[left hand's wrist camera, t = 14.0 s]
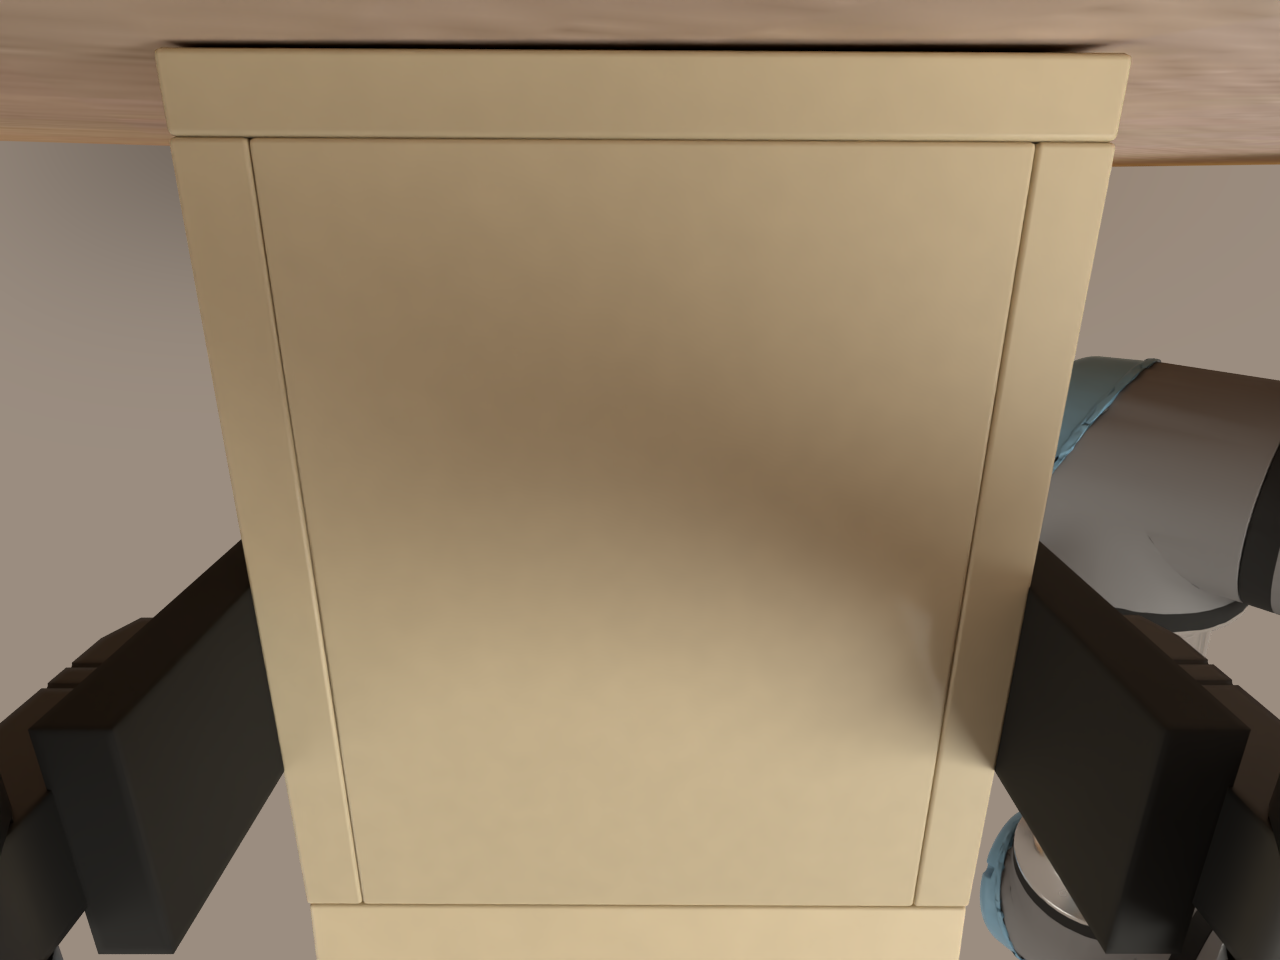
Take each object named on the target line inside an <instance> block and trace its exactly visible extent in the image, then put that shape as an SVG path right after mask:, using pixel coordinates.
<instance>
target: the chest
mask: <svg viewBox="0 0 1280 960" xmlns="http://www.w3.org/2000/svg"><path fill="white" fill-rule="evenodd" d="M154 56H155V62H156V67H157V73H158V78H159V84H160V89H161V95H162V100H163V106H164V111H165V117H166V122H167V128H168V130H169V132H170V134H171V135H174V136H176V137H174V138H172V139H170V148H171V153H172V159H173V164H174V169H175V175H176V181H177V186H178V192H179V197H180V203H181V208H182V214H183V219H184V225H185V230H186V236H187V241H188V247H189V252H190V258H191V263H192V269H193V274H194V280H195V285H196V291H197V297H198V302H199V308H200V313H201V318H202V324H203V330H204V335H205V340H206V346H207V351H208V357H209V363H210V368H211V374H212V379H213V385H214V390H215V396H216V401H217V406H218V412H219V417H220V423H221V429H222V434H223V440H224V445H225V451H226V456H227V462H228V467H229V473H230V478H231V484H232V489H233V495H234V500H235V506H236V511H237V517H238V522H239V528H240V533H241V539H242V544H243V550H244V555H245V561H246V566H247V572H248V577H249V583H250V588H251V593H252V599H253V604H254V610H255V615H256V620H257V626H258V631H259V636H260V642H261V647H262V653H263V658H264V663H265V669H266V674H267V679H268V685H269V690H270V695H271V701H272V706H273V712H274V717H275V722H276V728H277V733H278V738H279V744H280V749H281V755H282V760H283V765H284V775H285V781H286V786H287V792H288V798H289V803H290V808H291V814H292V819H293V825H294V831H295V836H296V842H297V847H298V852H299V858H300V864H301V869H302V875H303V880H304V886H305V891H306V897H307V901H308V902H309V903H349V904H358V903H361V902H362V900H363V901H364V903H367V904H587V905H810V906H910V905H912V904H913V902H914V904H915V905H916V906H967V905H968V904H969V899H970V894H971V889H972V884H973V879H974V874H975V868H976V863H977V858H978V853H979V848H980V843H981V838H982V832H983V827H984V822H985V817H986V812H987V807H988V801H989V796H990V791H991V786H992V781H993V776H994V770H995V765H996V760H997V755H998V750H999V744H1000V739H1001V734H1002V729H1003V723H1004V718H1005V713H1006V707H1007V702H1008V697H1009V692H1010V686H1011V681H1012V676H1013V670H1014V665H1015V660H1016V654H1017V649H1018V644H1019V639H1020V633H1021V628H1022V623H1023V617H1024V612H1025V607H1026V601H1027V596H1028V591H1029V587H1030V585H1031V580H1032V574H1033V569H1034V564H1035V559H1036V554H1037V549H1038V543H1039V538H1040V533H1041V528H1042V523H1043V518H1044V513H1045V507H1046V502H1047V497H1048V492H1049V487H1050V482H1051V476H1052V471H1053V466H1054V461H1055V456H1056V451H1057V445H1058V440H1059V435H1060V430H1061V425H1062V420H1063V414H1064V409H1065V404H1066V399H1067V394H1068V389H1069V384H1070V378H1071V373H1072V368H1073V363H1074V358H1075V353H1076V347H1077V342H1078V337H1079V332H1080V327H1081V322H1082V316H1083V311H1084V306H1085V301H1086V296H1087V291H1088V285H1089V280H1090V275H1091V270H1092V265H1093V260H1094V255H1095V249H1096V244H1097V239H1098V234H1099V229H1100V224H1101V218H1102V213H1103V208H1104V203H1105V198H1106V193H1107V187H1108V182H1109V177H1110V172H1111V167H1112V162H1113V157H1114V151H1115V145H1114V144H1112V143H1110V141H1112V140H1114V139H1115V137H1116V135H1117V133H1118V127H1119V122H1120V117H1121V112H1122V107H1123V102H1124V96H1125V91H1126V86H1127V81H1128V76H1129V71H1130V65H1131V56H1129V55H1127V54H1125V53H1011V52H843V51H676V50H508V49H340V48H173V47H161V48H159V49H157V50H155V54H154Z"/></svg>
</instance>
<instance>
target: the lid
mask: <svg viewBox="0 0 1280 960" xmlns="http://www.w3.org/2000/svg"><path fill="white" fill-rule="evenodd" d="M310 909H311V917H312V925H313V933H314V941H315V949H316V957H317V960H959V954H960V947H961V940H962V932H963V925H964V918H965V910H966V908H965V906H916V905H915V904H914V902H913V904H912V905H910V906H810V905H587V904H367V903H364V901H363V900H362V902H361V903H358V904H349V903H311V905H310Z"/></svg>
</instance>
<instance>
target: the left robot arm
mask: <svg viewBox="0 0 1280 960" xmlns="http://www.w3.org/2000/svg"><path fill="white" fill-rule="evenodd" d="M283 772H284V765H283V760H282V755H281V749H280V744H279V738H278V733H277V728H276V722H275V717H274V712H273V706H272V701H271V695H270V690H269V685H268V679H267V674H266V669H265V663H264V658H263V653H262V647H261V642H260V636H259V631H258V626H257V620H256V615H255V610H254V604H253V599H252V593H251V588H250V583H249V577H248V572H247V566H246V561H245V555H244V550H243V544H242V539H241V540H240V541H239V542H238V543H237V544H236V545H234V546H233V547H232V548H231V549H230V550H229V551H228V552H227V553H225V554H224V555H223V556H222V557H221V558H220V559H219V560H218V561H216V562H215V563H214V564H213V565H212V566H211V567H210V568H209V569H208V570H206V571H205V572H204V573H203V574H202V575H201V576H200V577H198V578H197V579H196V580H195V581H194V582H193V583H192V584H191V585H190V586H188V587H187V588H186V589H185V590H184V591H183V592H182V593H181V594H179V595H178V596H177V597H176V598H175V599H174V600H173V601H172V602H170V603H169V604H168V605H167V606H166V607H165V608H164V609H163V610H161V611H160V612H159V613H158V614H157V615H156V616H155V617H154V618H140V619H138V620H136V621H134V622H132V623H130V624H128V625H126V626H124V627H122V628H120V629H118V630H116V631H114V632H113V633H111V634H109V635H107V636H105V637H103V638H101V639H100V640H98V641H97V642H96V643H95V644H94V645H93V646H91V647H90V648H89V649H88V650H87V651H85V652H84V653H83V654H82V655H81V656H80V657H78V658H77V659H76V660H75V661H74V662H72V667H71V668H65V669H64V670H63V671H62V672H60V673H59V674H58V675H57V676H56V677H55V678H53V679H52V680H51V681H50V682H49V683H48V687H47V688H42V689H40V690H39V691H38V692H37V693H36V694H34V695H33V696H32V697H31V698H30V699H28V700H27V701H26V702H25V703H24V704H22V705H21V706H20V707H19V708H18V709H17V710H15V711H14V712H13V713H12V714H11V715H9V716H8V717H7V718H6V719H5V720H4V721H2V722H1V723H0V960H63V957H62V955H61V952H60V949H59V946H58V945H59V943H60V942H61V941H62V940H63V938H64V937H65V936H66V934H67V933H68V932H69V930H70V929H71V928H72V927H73V925H74V924H75V923H76V921H77V920H78V919H79V917H80V916H81V915H82V913H83V912H84V911H85V913H86V916H87V919H88V922H89V925H90V928H91V932H92V935H93V938H94V941H95V945H96V948H97V951H98V954H174V952H175V951H176V949H177V947H178V946H179V944H180V942H181V941H182V939H183V937H184V936H185V934H186V932H187V931H188V929H189V928H190V926H191V924H192V923H193V921H194V919H195V918H196V916H197V914H198V913H199V911H200V909H201V908H202V906H203V904H204V903H205V901H206V899H207V898H208V896H209V894H210V893H211V891H212V890H213V888H214V886H215V885H216V883H217V881H218V880H219V878H220V876H221V875H222V873H223V871H224V870H225V868H226V866H227V865H228V863H229V861H230V860H231V858H232V856H233V855H234V853H235V852H236V850H237V848H238V847H239V845H240V843H241V842H242V840H243V838H244V837H245V835H246V833H247V832H248V830H249V828H250V827H251V825H252V823H253V822H254V820H255V819H256V817H257V815H258V814H259V812H260V810H261V809H262V807H263V805H264V804H265V802H266V800H267V799H268V797H269V795H270V794H271V792H272V790H273V789H274V787H275V785H276V784H277V782H278V781H279V779H280V777H281V776H282V774H283ZM995 772H996V774H997V775H998V777H999V779H1000V780H1001V782H1002V784H1003V785H1004V787H1005V789H1006V790H1007V792H1008V793H1009V795H1010V797H1011V798H1012V800H1013V802H1014V803H1015V805H1016V807H1017V808H1018V810H1019V812H1020V813H1021V815H1022V817H1023V818H1024V820H1025V822H1026V823H1027V825H1028V827H1029V828H1030V830H1031V832H1032V833H1033V835H1034V836H1035V838H1036V840H1037V841H1038V843H1039V845H1040V846H1041V848H1042V850H1043V851H1044V853H1045V855H1046V856H1047V858H1048V860H1049V861H1050V863H1051V865H1052V866H1053V868H1054V869H1055V871H1056V873H1057V874H1058V876H1059V878H1060V879H1061V881H1062V883H1063V884H1064V886H1065V888H1066V889H1067V891H1068V893H1069V894H1070V896H1071V898H1072V899H1073V901H1074V903H1075V904H1076V906H1077V907H1078V909H1079V911H1080V912H1081V914H1082V916H1083V917H1084V919H1085V921H1086V922H1087V924H1088V926H1089V927H1090V929H1091V931H1092V932H1093V934H1094V936H1095V937H1096V939H1097V941H1098V942H1099V944H1100V945H1101V947H1102V949H1103V950H1104V952H1105V954H1181V951H1182V948H1183V944H1184V941H1185V938H1186V935H1187V932H1188V929H1189V925H1190V922H1191V919H1192V916H1193V913H1194V909H1195V908H1196V909H1197V910H1198V912H1199V913H1200V914H1201V915H1202V917H1203V918H1204V919H1205V921H1206V922H1207V923H1208V925H1209V926H1210V927H1211V928H1212V930H1213V931H1214V932H1215V934H1216V935H1217V936H1218V938H1219V939H1220V940H1221V941H1222V946H1221V949H1220V952H1219V955H1218V957H1217V960H1280V720H1279V719H1278V718H1277V717H1276V716H1275V715H1273V714H1272V713H1271V712H1270V711H1269V710H1267V709H1266V708H1265V707H1264V706H1263V705H1261V704H1260V703H1259V702H1258V701H1257V700H1255V699H1254V698H1253V697H1252V696H1251V695H1249V694H1248V693H1247V692H1246V691H1245V690H1243V689H1242V688H1241V687H1240V686H1239V685H1233V684H1232V680H1231V679H1230V678H1229V677H1228V676H1227V675H1225V674H1224V673H1223V672H1222V671H1221V670H1220V669H1218V668H1217V667H1216V666H1215V665H1209V664H1208V660H1207V659H1206V658H1205V657H1204V656H1203V655H1202V654H1200V653H1199V652H1198V651H1197V650H1196V649H1194V648H1193V647H1192V646H1191V645H1190V644H1188V643H1187V642H1186V641H1185V640H1184V639H1182V638H1181V637H1180V636H1179V635H1177V634H1175V633H1173V632H1171V631H1169V630H1167V629H1165V628H1163V627H1161V626H1159V625H1157V624H1155V623H1153V622H1151V621H1150V620H1148V619H1146V618H1144V617H1142V616H1140V615H1122V614H1121V613H1120V612H1119V611H1118V610H1117V609H1115V608H1114V607H1113V606H1112V605H1111V604H1110V603H1109V602H1108V601H1106V600H1105V599H1104V598H1103V597H1102V596H1101V595H1100V594H1099V593H1097V592H1096V591H1095V590H1094V589H1093V588H1092V587H1091V586H1090V585H1088V584H1087V583H1086V582H1085V581H1084V580H1083V579H1082V578H1081V577H1080V576H1078V575H1077V574H1076V573H1075V572H1074V571H1073V570H1072V569H1071V568H1069V567H1068V566H1067V565H1066V564H1065V563H1064V562H1063V561H1062V560H1060V559H1059V558H1058V557H1057V556H1056V555H1055V554H1054V553H1053V552H1051V551H1050V550H1049V549H1048V548H1047V547H1046V546H1045V545H1044V544H1042V543H1041V542H1040V541H1039V543H1038V549H1037V554H1036V559H1035V564H1034V569H1033V574H1032V580H1031V585H1030V587H1029V591H1028V596H1027V601H1026V607H1025V612H1024V617H1023V623H1022V628H1021V633H1020V639H1019V644H1018V649H1017V654H1016V660H1015V665H1014V670H1013V676H1012V681H1011V686H1010V692H1009V697H1008V702H1007V707H1006V713H1005V718H1004V723H1003V729H1002V734H1001V739H1000V744H999V750H998V755H997V760H996V765H995Z"/></svg>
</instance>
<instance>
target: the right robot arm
mask: <svg viewBox="0 0 1280 960" xmlns="http://www.w3.org/2000/svg"><path fill="white" fill-rule="evenodd" d="M1039 541H1040V542H1041V543H1042V544H1044V545H1045V546H1046V547H1047V548H1048V549H1049V550H1050V551H1051V552H1053V553H1054V554H1055V555H1056V556H1057V557H1058V558H1059V559H1060V560H1062V561H1063V562H1064V563H1065V564H1066V565H1067V566H1068V567H1069V568H1071V569H1072V570H1073V571H1074V572H1075V573H1076V574H1077V575H1078V576H1080V577H1081V578H1082V579H1083V580H1084V581H1085V582H1086V583H1087V584H1088V585H1090V586H1091V587H1092V588H1093V589H1094V590H1095V591H1096V592H1097V593H1099V594H1100V595H1101V596H1102V597H1103V598H1104V599H1105V600H1106V601H1108V602H1109V603H1110V604H1111V605H1112V606H1113V607H1114V608H1115V609H1117V610H1118V611H1119V612H1120V613H1121V614H1122V615H1140V616H1142V617H1144V618H1146V619H1148V620H1150V621H1151V622H1153V623H1155V624H1157V625H1159V626H1161V627H1163V628H1165V629H1167V630H1169V631H1171V632H1173V633H1175V634H1177V635H1179V636H1180V637H1181V638H1182V639H1184V640H1185V641H1186V642H1187V643H1188V644H1190V645H1191V646H1192V647H1193V648H1194V649H1196V650H1197V651H1198V652H1199V653H1200V654H1202V655H1203V656H1204V657H1205V658H1206V656H1207V651H1208V646H1209V641H1210V636H1211V631H1214V630H1217V629H1219V628H1222V627H1224V626H1227V625H1228V624H1230V623H1232V622H1234V621H1235V620H1237V619H1238V618H1239V617H1240V616H1241V615H1242V614H1243V613H1244V612H1245V611H1246V609H1247V607H1248V605H1251V606H1254V607H1257V608H1260V609H1263V610H1266V611H1269V612H1272V613H1276V614H1278V615H1280V381H1279V380H1272V379H1266V378H1259V377H1253V376H1246V375H1240V374H1233V373H1227V372H1220V371H1213V370H1207V369H1201V368H1194V367H1187V366H1181V365H1175V364H1168V363H1162V362H1161V360H1159V359H1154V358H1153V359H1146V360H1144V361H1141V360H1131V359H1121V358H1111V357H1100V356H1092V357H1085V358H1081V359H1078V360H1075V361H1074V363H1073V368H1072V373H1071V378H1070V384H1069V389H1068V394H1067V399H1066V404H1065V409H1064V414H1063V420H1062V425H1061V430H1060V435H1059V440H1058V445H1057V451H1056V456H1055V461H1054V466H1053V471H1052V476H1051V482H1050V487H1049V492H1048V497H1047V502H1046V507H1045V513H1044V518H1043V523H1042V528H1041V533H1040V538H1039ZM987 863H988V867H987V870H986V871H985V872H984V873H983V875H982V880H981V888H980V905H981V912H982V916H983V919H984V922H985V924H986V926H987V928H988V930H989V931H990V932H991V934H992V935H993V936H994V937H995V938H996V939H997V940H998V941H999V942H1001V943H1002V944H1003V945H1004V946H1006V947H1007V948H1008V949H1010V950H1011V951H1012V952H1013V953H1014V955H1015V956H1016V957H1017V958H1018V959H1020V960H1217V957H1218V955H1219V952H1220V949H1221V946H1222V941H1221V940H1220V939H1219V938H1218V936H1217V935H1216V934H1215V932H1214V931H1213V930H1212V928H1211V927H1210V926H1209V925H1208V923H1207V922H1206V921H1205V919H1204V918H1203V917H1202V915H1201V914H1200V913H1199V912H1198V910H1197V909H1196V908H1195V909H1194V913H1193V916H1192V919H1191V922H1190V925H1189V929H1188V932H1187V935H1186V938H1185V941H1184V944H1183V948H1182V951H1181V954H1105V952H1104V950H1103V949H1102V947H1101V945H1100V944H1099V942H1098V941H1097V939H1096V937H1095V936H1094V934H1093V932H1092V931H1091V929H1090V927H1089V926H1088V924H1087V922H1086V921H1085V919H1084V917H1083V916H1082V914H1081V912H1080V911H1079V909H1078V907H1077V906H1076V904H1075V903H1074V901H1073V899H1072V898H1071V896H1070V894H1069V893H1068V891H1067V889H1066V888H1065V886H1064V884H1063V883H1062V881H1061V879H1060V878H1059V876H1058V874H1057V873H1056V871H1055V869H1054V868H1053V866H1052V865H1051V863H1050V861H1049V860H1048V858H1047V856H1046V855H1045V853H1044V851H1043V850H1042V848H1041V846H1040V845H1039V843H1038V841H1037V840H1036V838H1035V836H1034V835H1033V833H1032V832H1031V830H1030V828H1029V827H1028V825H1027V823H1026V822H1025V820H1024V818H1023V817H1022V815H1021V813H1020V812H1018V813H1016V814H1015V815H1014V816H1013V817H1012V818H1011V819H1010V820H1009V821H1008V822H1007V823H1006V824H1005V825H1004V827H1003V828H1002V830H1001V831H1000V833H999V834H998V836H997V838H996V839H995V841H994V843H993V846H992V848H991V850H990V852H989V855H988V859H987Z"/></svg>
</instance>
